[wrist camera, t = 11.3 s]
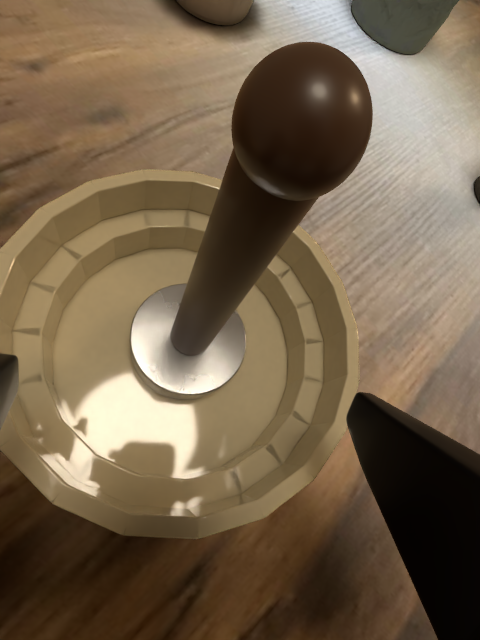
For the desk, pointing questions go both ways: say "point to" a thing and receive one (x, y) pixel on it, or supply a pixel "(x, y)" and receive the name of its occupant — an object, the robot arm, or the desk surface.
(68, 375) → the bowl
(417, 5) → the green cup
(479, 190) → the sundae
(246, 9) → the cupcake
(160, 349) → the ball-topped joystick
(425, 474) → the robot arm
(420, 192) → the desk surface
